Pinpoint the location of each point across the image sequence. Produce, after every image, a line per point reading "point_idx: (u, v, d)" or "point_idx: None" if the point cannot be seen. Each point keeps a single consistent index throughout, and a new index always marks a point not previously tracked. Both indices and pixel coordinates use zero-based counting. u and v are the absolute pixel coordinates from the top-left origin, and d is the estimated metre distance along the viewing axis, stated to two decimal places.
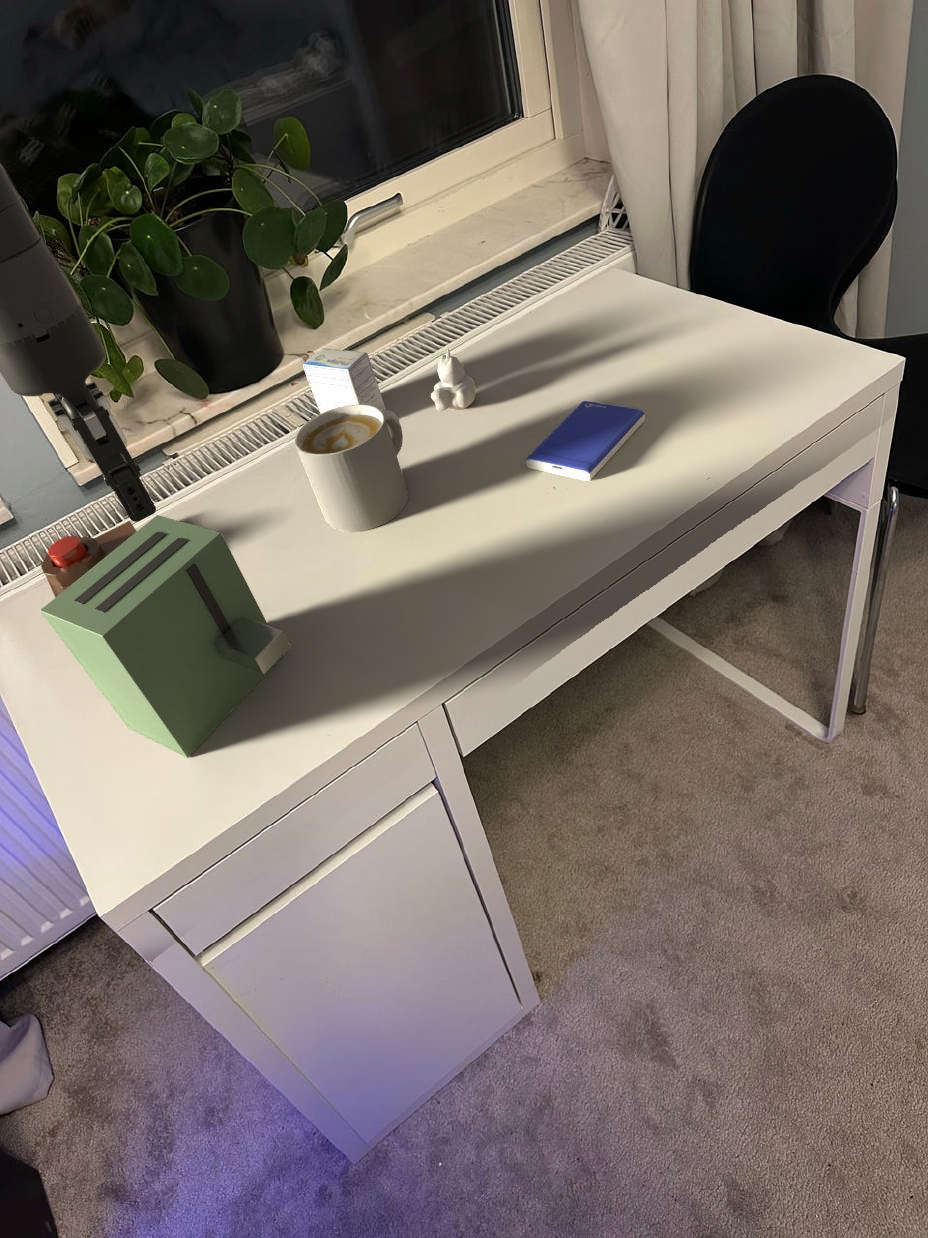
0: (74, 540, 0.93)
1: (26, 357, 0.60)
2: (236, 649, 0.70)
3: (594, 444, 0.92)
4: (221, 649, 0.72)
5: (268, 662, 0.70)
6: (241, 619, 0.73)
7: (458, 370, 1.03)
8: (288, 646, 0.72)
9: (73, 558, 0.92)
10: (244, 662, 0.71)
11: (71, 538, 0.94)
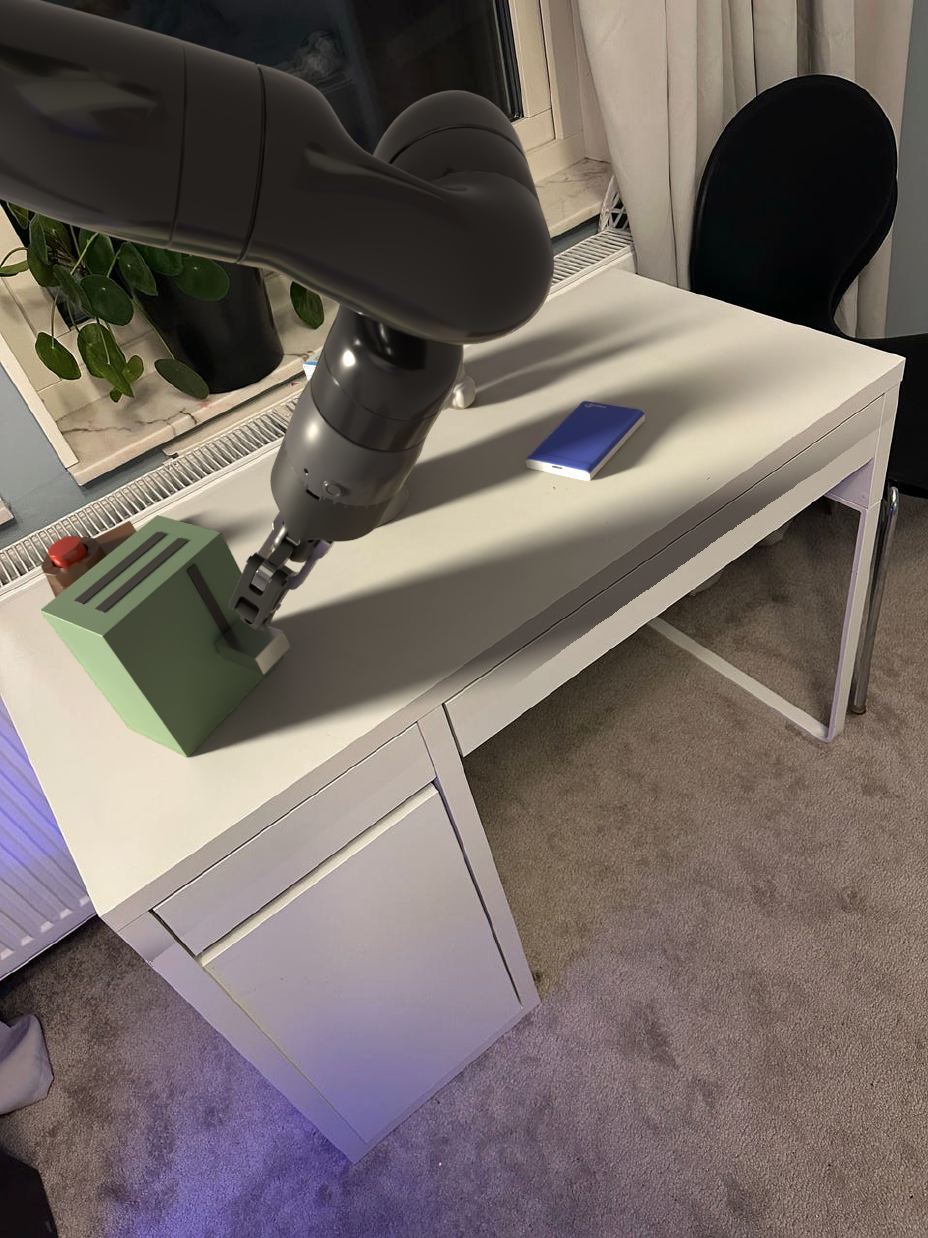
0: (74, 540, 0.93)
1: (288, 483, 0.49)
2: (236, 649, 0.70)
3: (594, 444, 0.92)
4: (221, 649, 0.72)
5: (268, 662, 0.70)
6: None
7: None
8: (288, 646, 0.72)
9: (73, 558, 0.92)
10: (244, 662, 0.71)
11: (71, 538, 0.94)
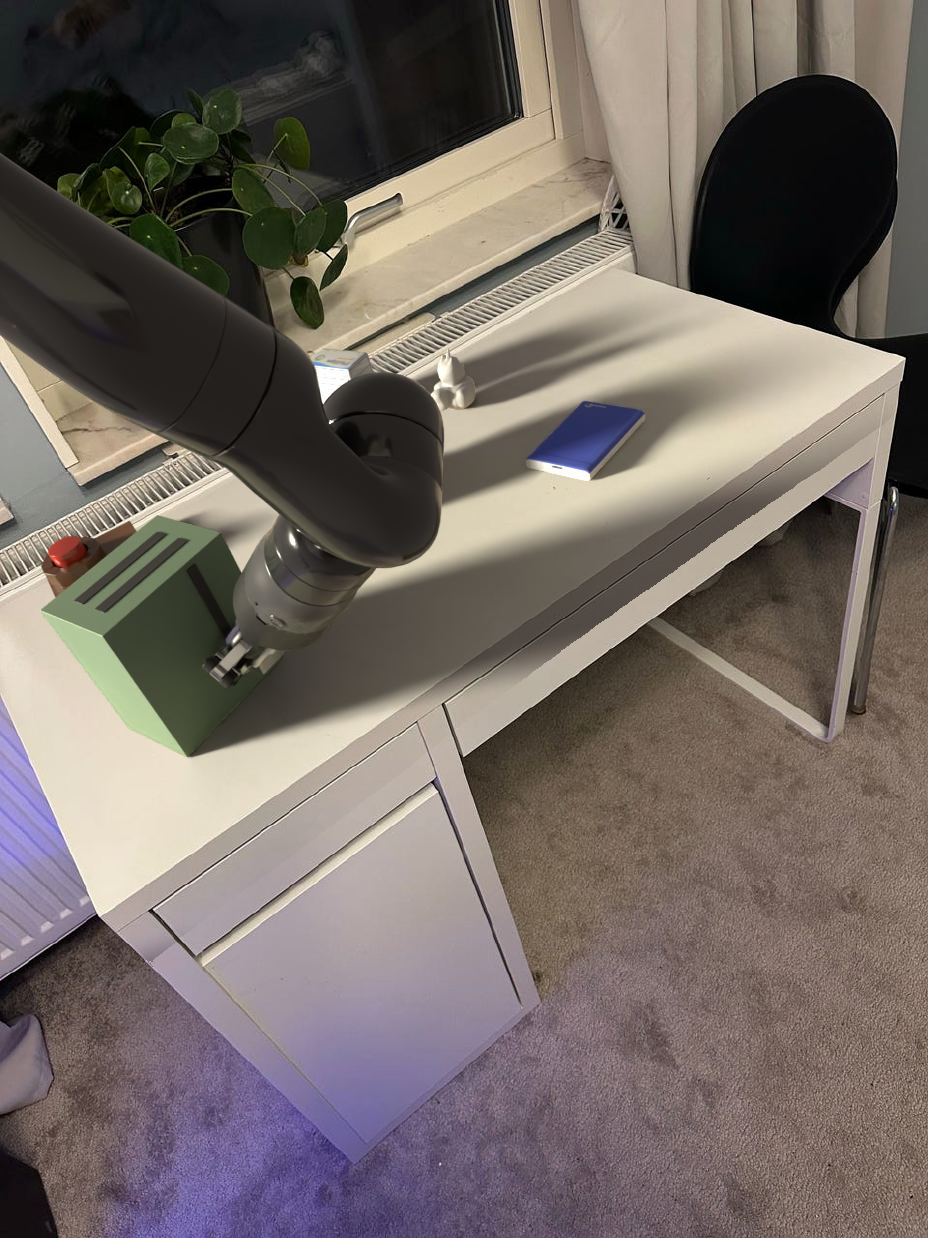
0: (74, 540, 0.93)
1: (244, 605, 0.59)
2: None
3: (594, 444, 0.92)
4: (221, 649, 0.72)
5: (268, 662, 0.70)
6: None
7: (458, 370, 1.03)
8: None
9: (73, 558, 0.92)
10: None
11: (71, 538, 0.94)
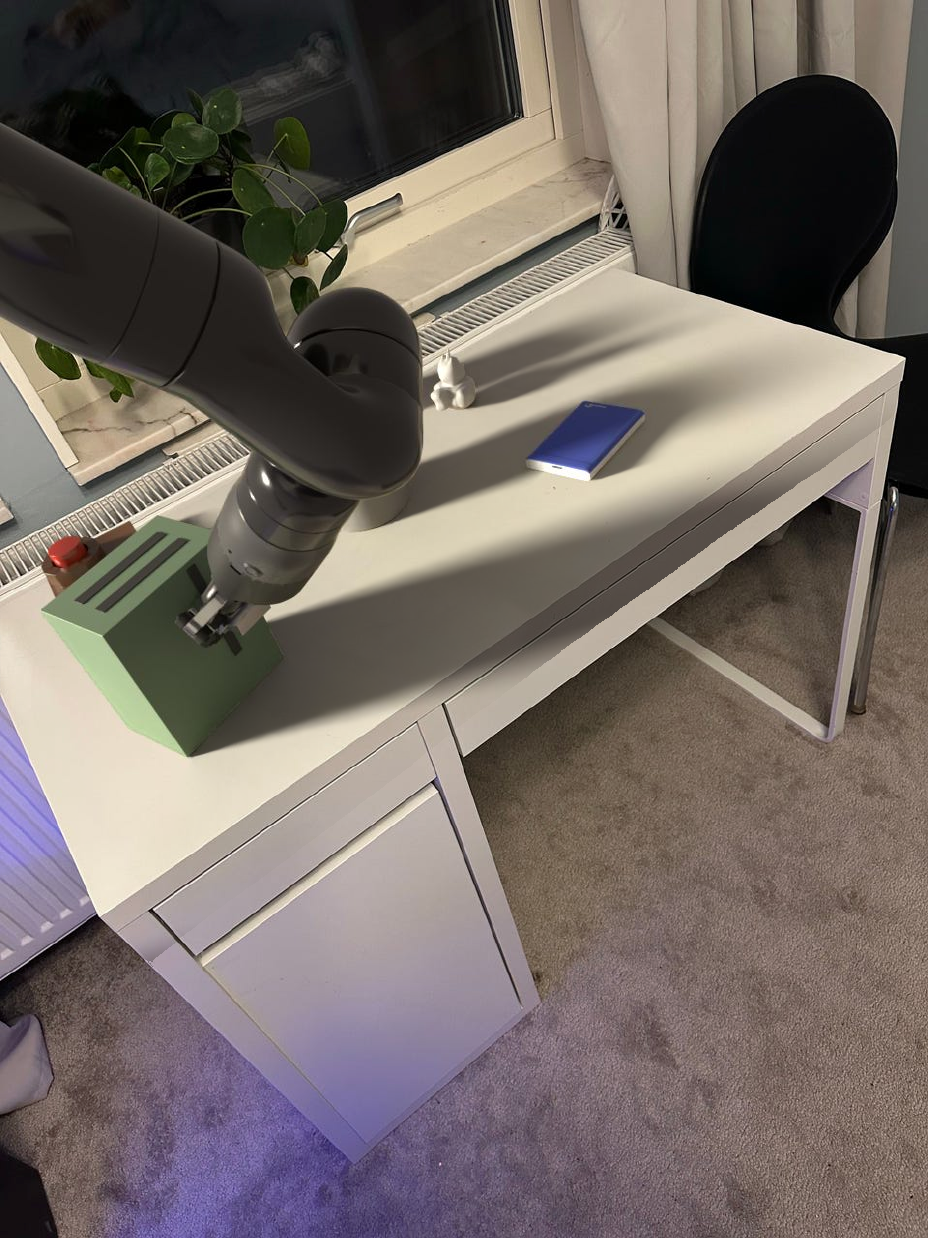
0: (74, 540, 0.93)
1: (217, 555, 0.56)
2: None
3: (594, 444, 0.92)
4: (198, 610, 0.69)
5: (246, 623, 0.67)
6: None
7: (458, 370, 1.03)
8: (268, 607, 0.69)
9: (73, 558, 0.92)
10: None
11: (71, 538, 0.94)
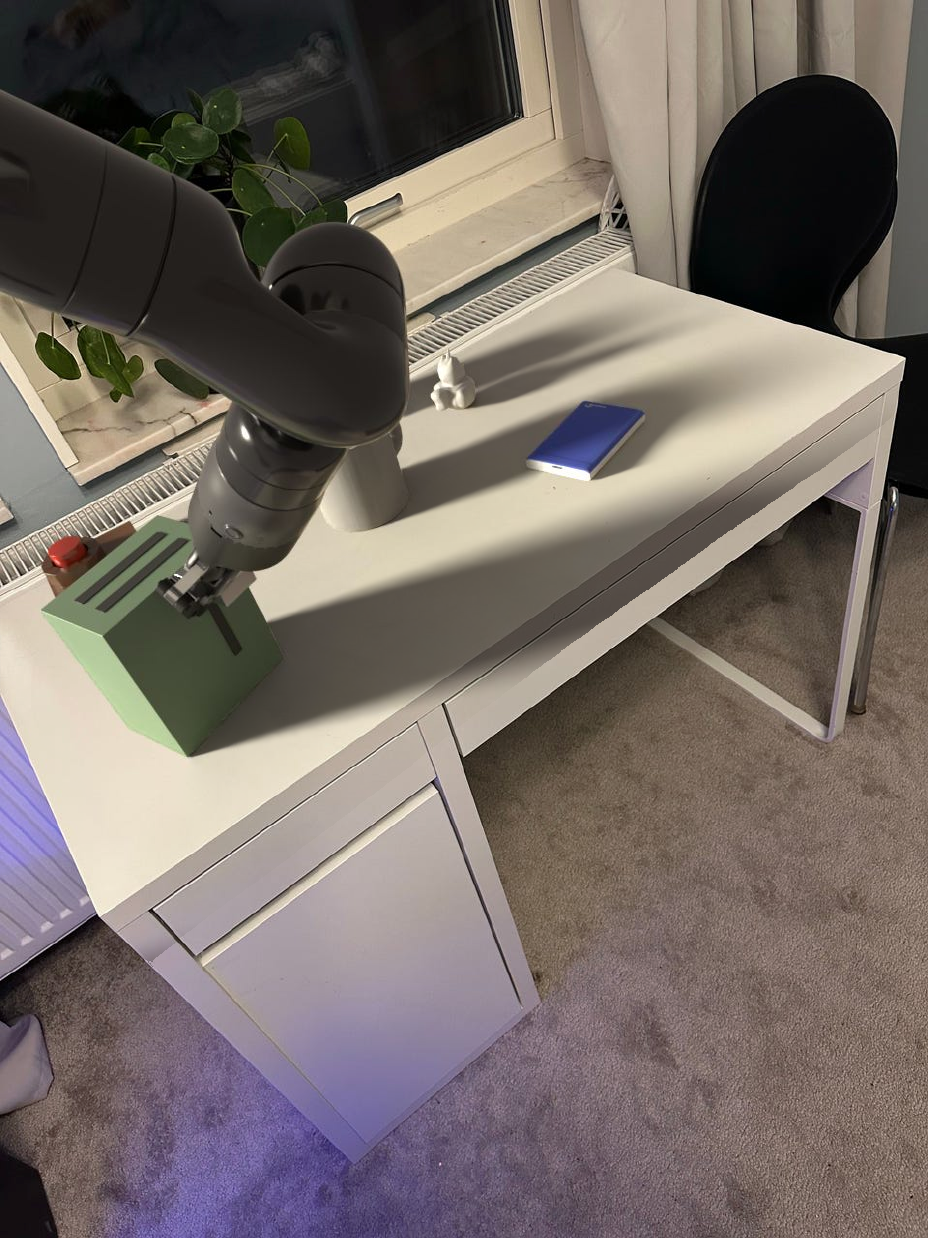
0: (74, 540, 0.93)
1: (198, 517, 0.54)
2: None
3: (594, 444, 0.92)
4: None
5: (231, 594, 0.65)
6: None
7: (458, 370, 1.03)
8: (254, 578, 0.67)
9: (73, 558, 0.92)
10: None
11: (71, 538, 0.94)
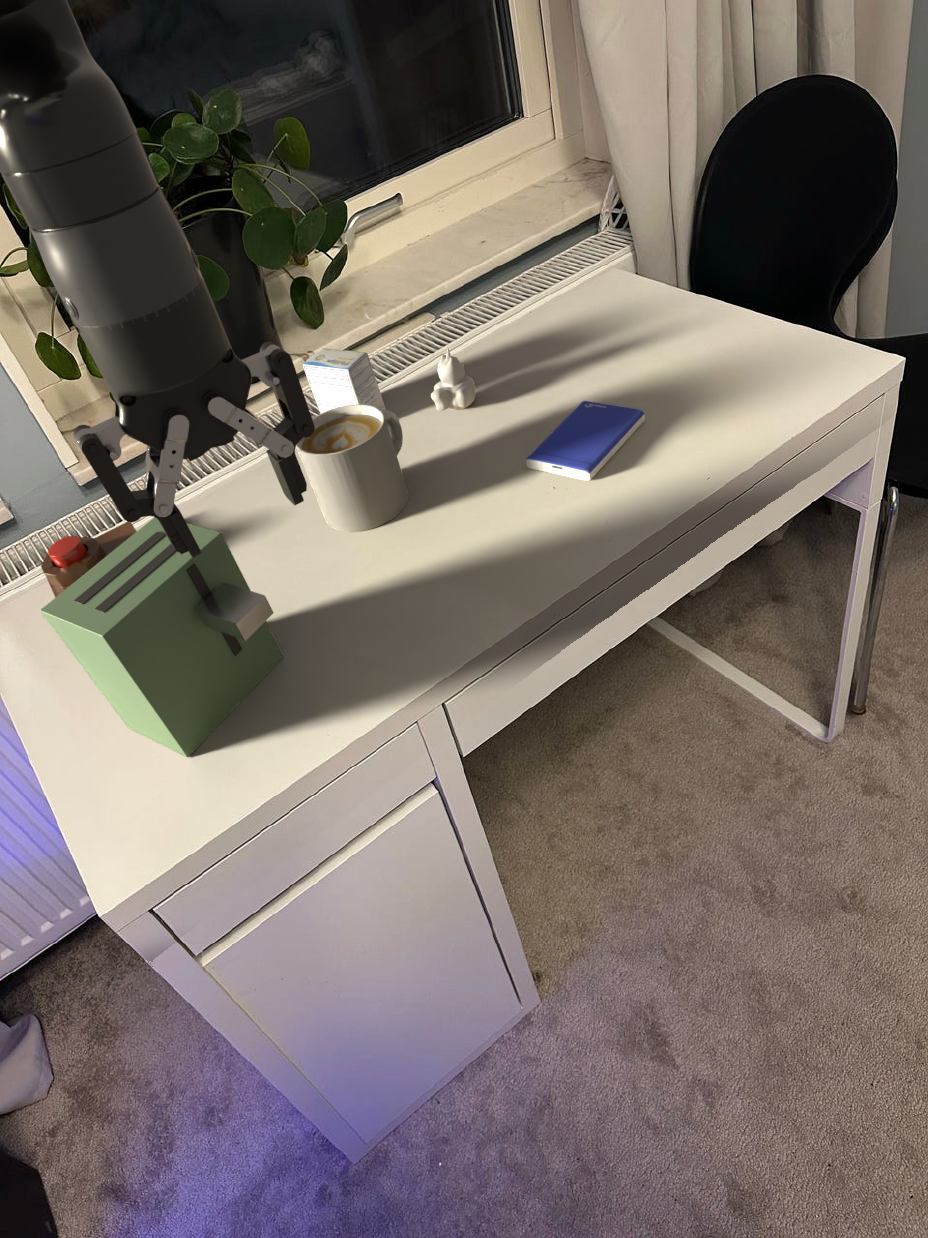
0: (74, 540, 0.93)
1: None
2: (217, 614, 0.68)
3: (594, 444, 0.92)
4: (201, 615, 0.69)
5: (249, 628, 0.68)
6: (223, 585, 0.71)
7: (458, 370, 1.03)
8: (271, 612, 0.69)
9: (73, 558, 0.92)
10: (225, 628, 0.68)
11: (71, 538, 0.94)
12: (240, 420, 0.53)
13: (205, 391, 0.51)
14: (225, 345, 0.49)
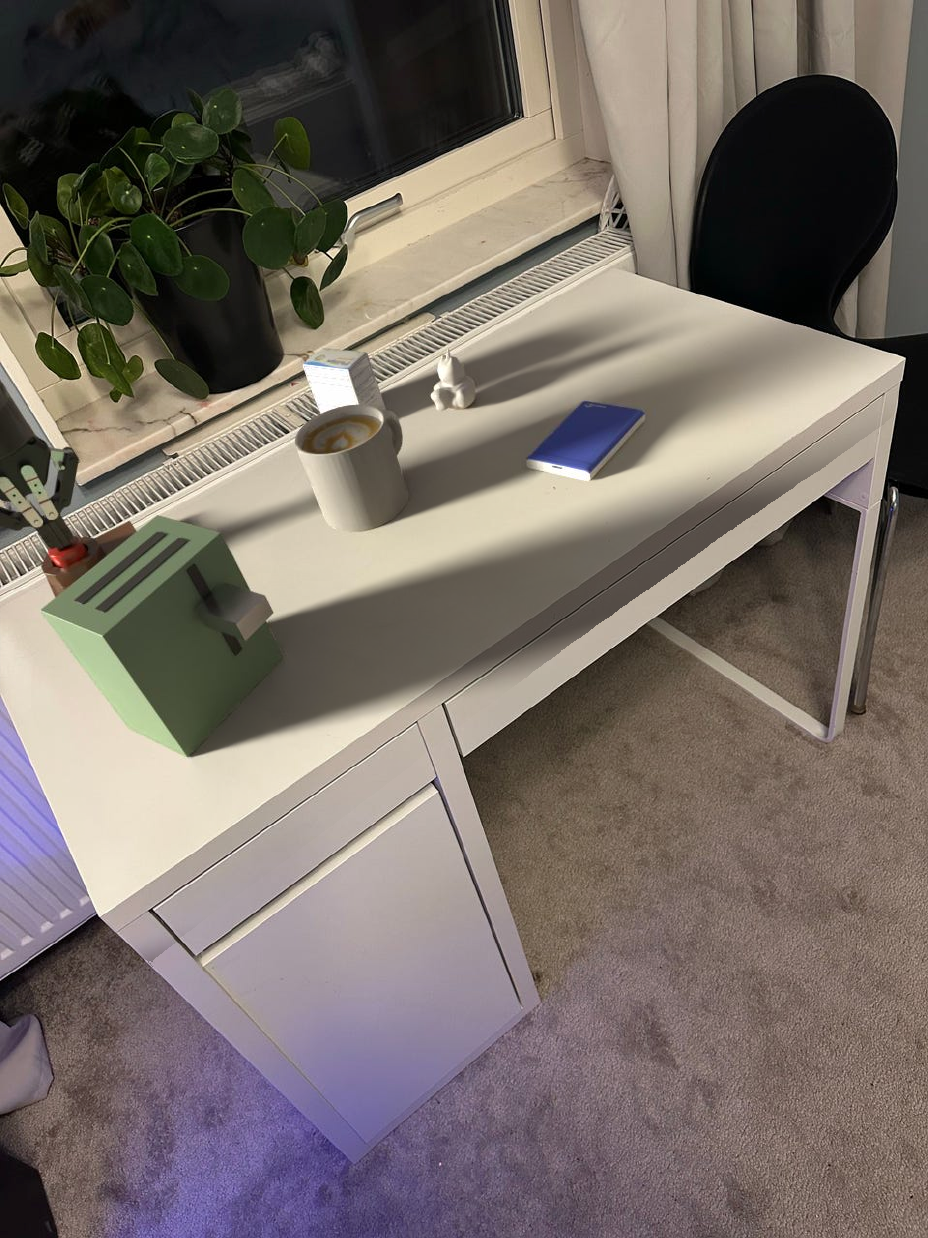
0: (74, 540, 0.93)
1: None
2: (217, 614, 0.68)
3: (594, 444, 0.92)
4: (201, 615, 0.69)
5: (249, 628, 0.68)
6: (223, 585, 0.71)
7: (458, 370, 1.03)
8: (271, 612, 0.69)
9: (73, 558, 0.92)
10: (225, 628, 0.68)
11: None
12: (35, 485, 0.87)
13: (20, 461, 0.85)
14: (27, 436, 0.84)
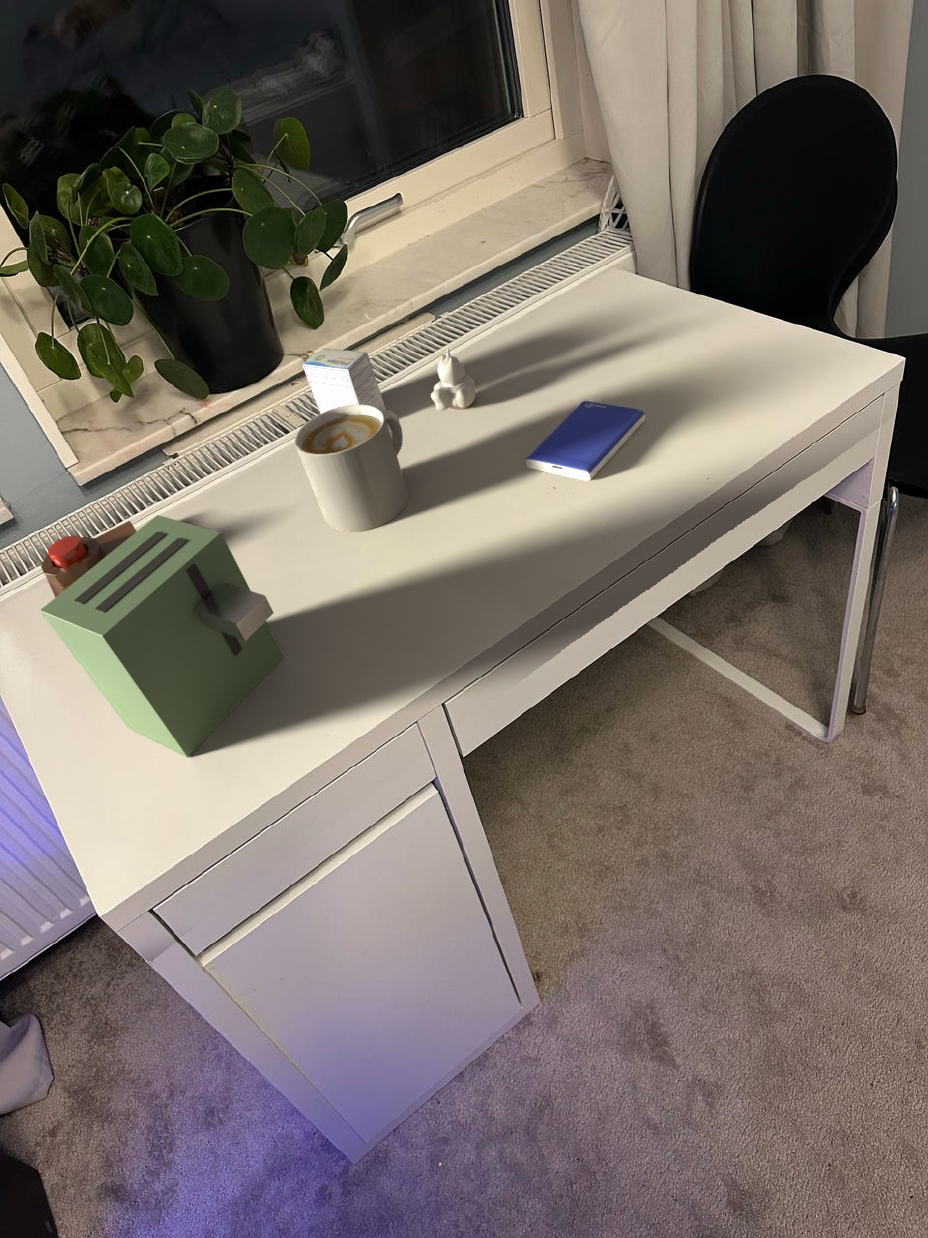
0: (74, 540, 0.93)
1: None
2: (217, 614, 0.68)
3: (594, 444, 0.92)
4: (201, 615, 0.69)
5: (249, 628, 0.68)
6: (223, 585, 0.71)
7: (458, 370, 1.03)
8: (271, 612, 0.69)
9: (73, 558, 0.92)
10: (225, 628, 0.68)
11: (71, 538, 0.94)
12: None
13: None
14: None
